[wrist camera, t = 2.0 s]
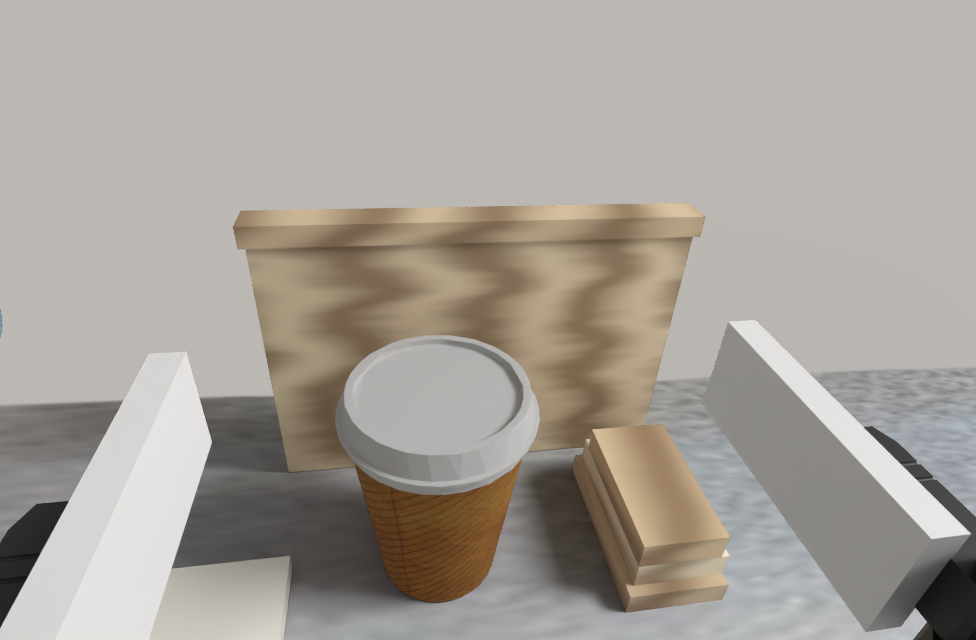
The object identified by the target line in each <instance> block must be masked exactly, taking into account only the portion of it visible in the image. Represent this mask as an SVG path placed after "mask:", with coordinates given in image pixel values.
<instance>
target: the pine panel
mask: <svg viewBox="0 0 976 640" xmlns="http://www.w3.org/2000/svg"><path fill="white" fill-rule="evenodd" d="M704 220H705V216H704V215H703V214H702V213H701V212H699V211H698V210H697V209H695V207H693V206H692V205H691V204H690V203H670V204H669V203H666V204H610V205H609V204H608V205H552V206H495V207H494V206H493V207H438V208H437V207H435V208H382V209H381V208H380V209H379V208H377V209H327V210H326V209H322V210H321V209H320V210H263V211H262V210H261V211H240V213H239V215H238V218H237V220H236V222H235V224H234V226H233V229H234V234H235V239H236V244H237V248H238V249H245V250H246V255H247V260H248V265H249V271H250V276H251V281H252V286H253V291H254V296H255V301H256V306H257V311H258V317H259V322H260V327H261V332H262V337H263V342H264V348H265V353H266V358H267V363H268V368H269V373H270V378H271V384H272V389H273V394H274V399H275V404H276V409H277V414H278V419H279V425H280V430H281V435H282V440H283V445H284V450H285V455H286V460H287V466H288V471H289V472H300V471H312V470H323V469H334V468H346V467H355V463H354V461H353V460H352V459H351V457H350V456H349V455H348V453H347V452H346V450H345V449H344V447H343V446H342V444H341V443H340V440H339V437H338V433H337V430H336V426H335V414H336V408H337V404H338V401H339V399H340V397H341V395H342V393H343V392H344V390H345V385H346V382H347V380H348V378H349V376H350V374H351V372H352V371H353V370H354V369H355V367H356V366H357V365H358V364H359V363H360V362H361V361H362V360H363V359H365V358H366V357H367V356H368V355H370V354H371V353H373V352H375V351H377V350H379V349H381V348H383V347H385V346H387V345H389V344H391V343H394V342H397V341H400V340H404V339H407V338H414V337H420V336H426V335H452V336H457V337H463V338H469V339H475V340H478V341H480V342H483V343H486V344H489V345H492V346H494V347H496V348H498V349H499V350H501V351H503V352H504V353H506V354H508V355H509V356H510V357H511V358H513V359H514V360H515V361H516V362H517V363H518V364H519V365H520V366H521V368H522V369H523V370H524V371H525V373H526V375H527V377H528V379H529V382H530V387H531V390H532V392H533V393H534V395H535V397H536V400H537V403H538V406H539V417H540V422H539V426H538V431H537V434H536V437H535V440H534V441H533V443H532V445H531V447H530V448H529V450H528V452H529V451H540V450H552V449H563V448H575V447H584V444H585V439H590V438H591V433H592V429H604V428H617V427H630V426H643V425H644V424H645V420H646V416H647V413H648V409H649V405H650V401H651V397H652V393H653V389H654V385H655V382H656V378H657V374H658V370H659V366H660V362H661V358H662V354H663V350H664V347H665V343H666V339H667V335H668V331H669V327H670V323H671V319H672V315H673V311H674V308H675V304H676V300H677V296H678V292H679V288H680V284H681V280H682V276H683V273H684V269H685V265H686V261H687V257H688V253H689V249H690V246H691V242H692V238H693V237H700V235H701V232H702V228H703V224H704Z"/></svg>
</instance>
